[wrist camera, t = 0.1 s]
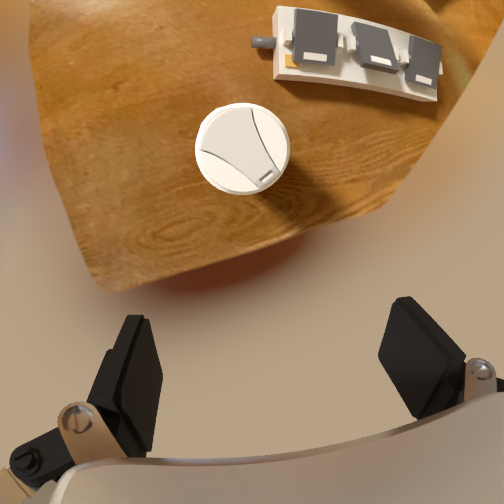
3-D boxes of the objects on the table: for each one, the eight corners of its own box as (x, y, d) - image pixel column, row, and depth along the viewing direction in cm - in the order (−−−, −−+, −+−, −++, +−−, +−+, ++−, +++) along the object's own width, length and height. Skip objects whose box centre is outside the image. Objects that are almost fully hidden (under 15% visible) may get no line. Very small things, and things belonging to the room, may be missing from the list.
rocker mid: (349, 27, 28) (353, 20, 26) (383, 35, 28) (388, 29, 27) (358, 68, 28) (363, 62, 27) (394, 75, 29) (400, 70, 27)
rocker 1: (292, 9, 25) (295, 8, 24) (334, 15, 25) (339, 14, 24) (290, 60, 29) (293, 61, 28) (331, 65, 30) (335, 66, 29)
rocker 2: (407, 34, 26) (414, 35, 25) (435, 45, 27) (442, 46, 25) (402, 79, 31) (408, 81, 30) (430, 87, 31) (436, 90, 30)
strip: (250, 15, 30) (255, -3, 24) (418, 46, 32) (441, 39, 26) (250, 79, 33) (255, 69, 28) (421, 101, 36) (446, 100, 30)
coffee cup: (279, 148, 38) (312, 157, 24) (232, 187, 39) (237, 217, 25) (239, 101, 35) (250, 80, 21) (191, 141, 36) (171, 144, 22)
